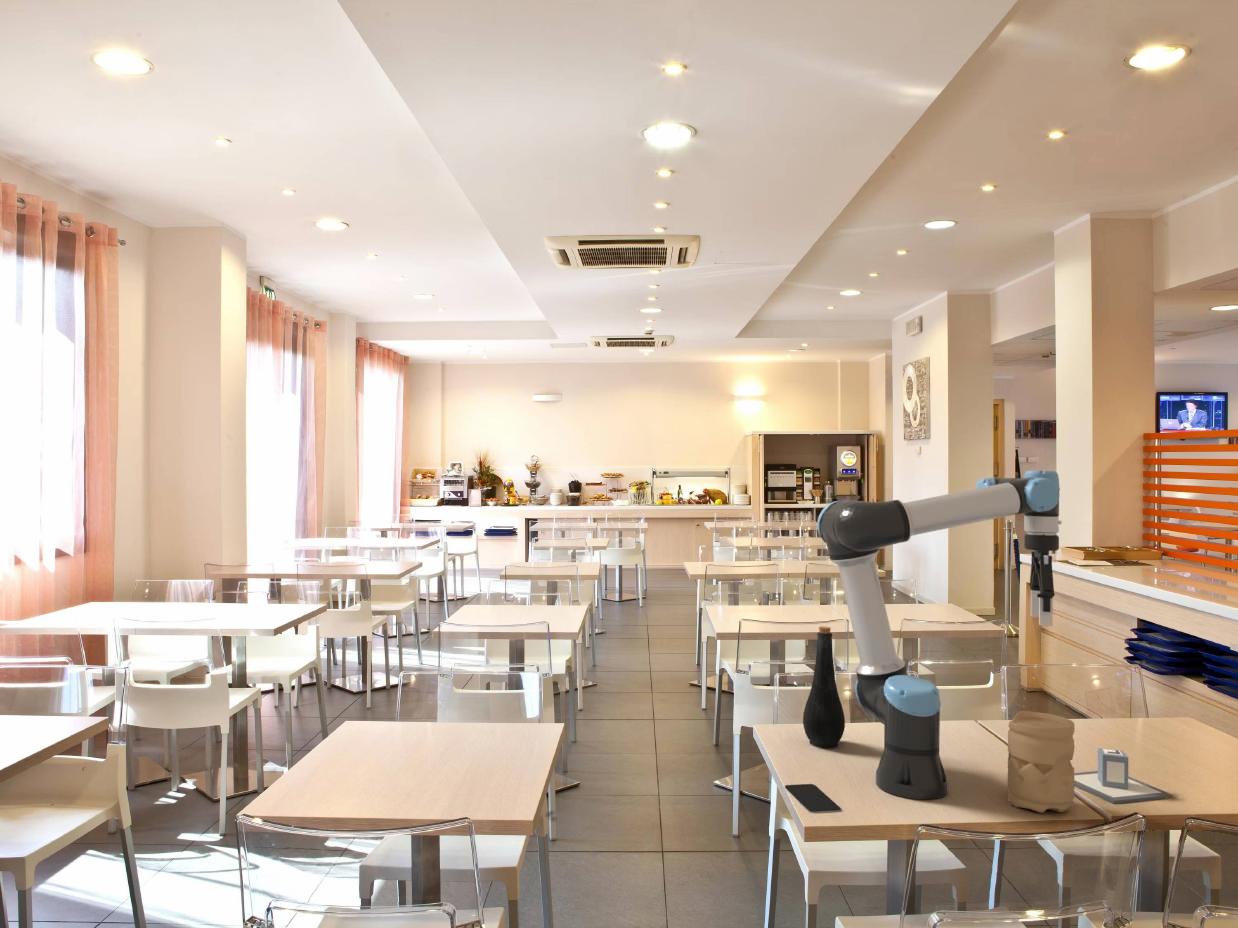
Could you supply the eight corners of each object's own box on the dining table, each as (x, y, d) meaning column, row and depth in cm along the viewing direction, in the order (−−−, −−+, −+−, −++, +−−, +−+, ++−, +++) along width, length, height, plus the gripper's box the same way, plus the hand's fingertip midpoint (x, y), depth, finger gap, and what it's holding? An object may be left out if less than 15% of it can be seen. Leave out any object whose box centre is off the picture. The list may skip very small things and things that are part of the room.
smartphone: (813, 783, 184) (843, 809, 169) (813, 786, 184) (843, 812, 169) (782, 784, 182) (809, 811, 168) (782, 788, 182) (809, 814, 168)
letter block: (1128, 789, 182) (1128, 756, 182) (1102, 786, 183) (1102, 753, 184) (1122, 781, 186) (1122, 749, 187) (1097, 778, 188) (1097, 746, 188)
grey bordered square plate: (1113, 803, 175) (1113, 800, 175) (1055, 777, 191) (1055, 774, 191) (1173, 797, 179) (1173, 794, 179) (1111, 771, 195) (1111, 769, 195)
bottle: (850, 741, 215) (851, 626, 215) (837, 752, 206) (838, 632, 206) (810, 734, 220) (811, 622, 221) (796, 744, 211) (798, 628, 212)
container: (1010, 811, 170) (1010, 723, 171) (1005, 790, 182) (1005, 708, 182) (1079, 820, 166) (1079, 731, 166) (1069, 798, 178) (1069, 715, 178)
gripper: (1068, 537, 187) (1068, 630, 187) (1050, 531, 211) (1049, 614, 210) (1032, 536, 190) (1031, 628, 189) (1017, 530, 213) (1017, 612, 213)
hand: (1041, 621), depth 200 cm, fingers open, 13 cm apart
